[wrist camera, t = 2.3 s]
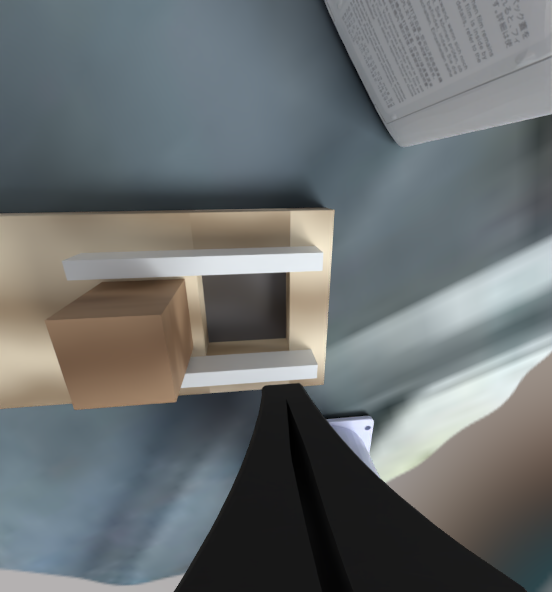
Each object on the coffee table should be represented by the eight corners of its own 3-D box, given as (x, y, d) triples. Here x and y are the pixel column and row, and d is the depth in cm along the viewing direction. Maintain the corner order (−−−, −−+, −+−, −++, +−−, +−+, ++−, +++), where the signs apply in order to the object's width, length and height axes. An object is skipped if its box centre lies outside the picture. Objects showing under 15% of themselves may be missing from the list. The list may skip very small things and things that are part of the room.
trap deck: (317, 368, 22) (323, 384, 20) (13, 389, 20) (-10, 409, 18) (325, 207, 18) (334, 210, 16) (-60, 214, 16) (-101, 217, 14)
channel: (310, 361, 20) (317, 378, 18) (113, 375, 18) (99, 394, 17) (315, 245, 17) (323, 252, 15) (81, 252, 16) (61, 260, 14)
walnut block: (193, 347, 18) (176, 401, 14) (118, 351, 18) (74, 409, 13) (184, 278, 17) (161, 314, 12) (101, 282, 16) (44, 320, 12)
